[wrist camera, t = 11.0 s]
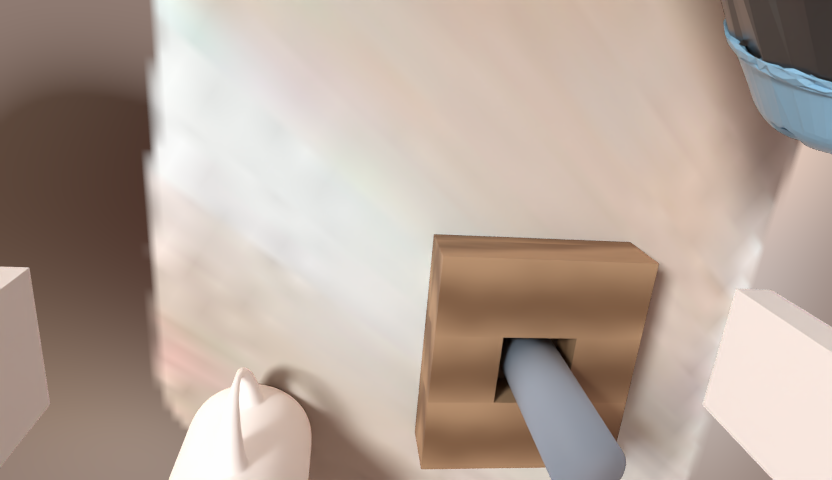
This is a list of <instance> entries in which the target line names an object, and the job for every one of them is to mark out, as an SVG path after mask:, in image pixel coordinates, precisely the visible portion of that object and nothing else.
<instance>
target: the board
mask: <svg viewBox="0 0 832 480" xmlns="http://www.w3.org/2000/svg"><path fill="white" fill-rule="evenodd" d="M658 266H659V263H657V262H656V261H655V260H653V259H652V258H651V257H649V256H648V255H647V254H645V253H644V252H643V251H641V250H640V249H639V248H637V247H636V246H635V245H633V244H632V243H631V242H611V241H586V240H561V239H537V238H512V237H487V236H462V235H437V234H434V240H433V250H432V261H431V271H430V281H429V292H428V302H427V312H426V323H425V333H424V343H423V354H422V364H421V374H420V385H419V395H418V405H417V416H416V426H415V435H416V441H417V447H418V453H419V459H420V465H421V469H469V468H541V467H545V464H544V462H543V460H542V458H541V455H540V453H539V451H538V449H537V446H536V444H535V442H534V440H533V438H532V435H531V433H530V431H529V429H528V426H527V424H526V422H525V420H524V417H523V415H522V413H521V411H520V409H519V406H518V404H517V402H516V400H515V397H514V395H513V393H512V391H511V388H510V386H509V384H508V382H507V380H506V377H505V375H504V373H503V371H502V368H501V366H500V357H501V350H502V343H503V337H504V338H550V339H551V341H552V342H553V344H554V345H555V347H556V348H557V350H558V351H559V353H560V355H561V356H562V358H563V359H564V361H565V362H566V364H567V365H568V367H569V369H570V370H571V372H572V373H573V375H574V376H575V378H576V379H577V381H578V383H579V384H580V386H581V387H582V389H583V390H584V392H585V393H586V395H587V397H588V398H589V400H590V401H591V403H592V404H593V406H594V407H595V409H596V411H597V412H598V414H599V415H600V417H601V418H602V420H603V421H604V423H605V425H606V426H607V428H608V429H609V431H610V432H611V434H612V435H613V437H614V439H615V440H616V442H617V438H618V434H619V430H620V426H621V421H622V417H623V413H624V409H625V405H626V400H627V396H628V392H629V388H630V384H631V379H632V375H633V371H634V367H635V363H636V358H637V354H638V350H639V346H640V342H641V337H642V333H643V329H644V325H645V321H646V316H647V312H648V308H649V304H650V300H651V295H652V291H653V287H654V283H655V279H656V274H657V270H658Z"/></svg>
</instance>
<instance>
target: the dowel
mask: <svg viewBox="0 0 832 480" xmlns="http://www.w3.org/2000/svg"><path fill="white" fill-rule="evenodd" d="M500 366H501V368H502V371H503V373H504V375H505V377H506V380H507V382H508V384H509V386H510V388H511V391H512V393H513V395H514V397H515V400H516V402H517V404H518V406H519V409H520V411H521V413H522V415H523V417H524V420H525V422H526V424H527V426H528V429H529V431H530V433H531V435H532V438H533V440H534V442H535V444H536V446H537V449H538V451H539V453H540V455H541V458H542V460H543V462H544V464H545V467H546V469H547V471H548V473H549V475H550V478H551V480H620V479H621V478H622V476H623V474H624V471H625V466H626V459H625V455H624V453H623V451H622V449H621V448H620V446H619V445H618V443H617V442H616V440H615V439H614V437H613V435H612V434H611V432H610V431H609V429H608V428H607V426H606V425H605V423H604V421H603V420H602V418H601V417H600V415H599V414H598V412H597V411H596V409H595V407H594V406H593V404H592V403H591V401H590V400H589V398H588V397H587V395H586V393H585V392H584V390H583V389H582V387H581V386H580V384H579V383H578V381H577V379H576V378H575V376H574V375H573V373H572V372H571V370H570V369H569V367H568V365H567V364H566V362H565V361H564V359H563V358H562V356H561V355H560V353H559V351H558V350H557V348H556V347H555V345H554V344H553V342H552V341H551V339H550V338H504V337H503V343H502V350H501V357H500Z"/></svg>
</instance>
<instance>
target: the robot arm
mask: <svg viewBox="0 0 832 480" xmlns="http://www.w3.org/2000/svg"><path fill="white" fill-rule="evenodd" d="M721 3H722V7H723V10H724V14H725V20H724V22H723V24H724V32H725V35H726V38H727V42H728V44H729V46H730V47H731V49H732V50H733V51H734V52H735V54H736V55H737V56H738V59H739V62H740V64H741V67H742V70H743V73H744V75H745V78H746V81H747V83H748V86H749V89H750V92H751V96H752V99H753V101H754V103H755V105H756V108H757V110H758V111H759V112H760V114H761V115H762V117H763V118H764V119H765V120H766V121H767V122H768V123H769V124H770V125H771V126H772V127H773V128H774V129H776V130H777V131H779V132H780V133H782V134H784V135H786V136H788V137H790V138H793V139H796V140H800V141H801V142H802V143H803V144H804V145H806V146H808V147H810V148H813V149H816V150H819V151H822V152H826V153H830V154H832V0H721ZM49 405H50V400H49V393H48V388H47V380H46V375H45V367H44V361H43V354H42V348H41V341H40V335H39V328H38V322H37V315H36V309H35V302H34V296H33V290H32V282H31V276H30V269H29V268H24V267H0V467H1V466H2V465H3V464H4V462H5V461H6V460H7V458H8V457H9V456H10V455H11V453H12V452H13V451H14V450H15V448H16V447H17V446H18V445H19V443H20V442H21V441H22V439H23V438H24V437H25V436H26V434H27V433H28V432H29V431H30V429H31V428H32V427H33V425H34V424H35V423H36V422H37V420H38V419H39V418H40V417H41V415H42V414H43V413H44V412H45V410H46V409H47V408H48V407H49ZM703 406H704V407H705V408H706V409H707V410H708V411H709V412H710V413H711V415H712V416H713V417H714V418H715V419H716V420H717V421H718V422H719V423H720V424H721V425H722V426H723V427H724V428H725V429H726V430H727V431H728V433H729V434H730V435H731V436H732V437H733V438H734V439H735V440H736V441H737V442H738V443H739V444H740V445H741V446H742V447H743V448H744V450H745V451H746V452H747V453H748V454H749V455H750V456H751V457H752V458H753V459H754V460H755V461H756V462H757V463H758V464H759V465H760V466H761V467H762V469H764V471H765V472H766V473H767V474H768V475H769V476H770V477H771V478H772V479H773V480H832V327H831V326H829V325H828V324H826V323H824V322H823V321H821V320H819V319H818V318H816V317H815V316H813V315H811V314H810V313H808V312H806V311H805V310H803V309H802V308H800V307H798V306H797V305H795V304H793V303H792V302H790V301H789V300H787V299H785V298H783V297H782V296H780V295H779V294H777V293H776V292H774V291H772V290H766V289H736V291H735V294H734V298H733V301H732V305H731V308H730V312H729V315H728V318H727V322H726V325H725V329H724V332H723V336H722V339H721V343H720V346H719V349H718V353H717V356H716V360H715V363H714V367H713V370H712V374H711V377H710V380H709V384H708V387H707V391H706V394H705V398H704V401H703Z"/></svg>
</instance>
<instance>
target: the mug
mask: <svg viewBox="0 0 832 480" xmlns="http://www.w3.org/2000/svg"><path fill="white" fill-rule="evenodd" d="M311 443H312V435H311V427H310V422H309V419H308V417H307V414H306V413H305V411H304V409H303V408H302V407H301V405H300V404H299V403H298V402H297V401H296V400H295V399H294V398H293V397H291V396H290V395H288V394H287V393H285V392H283V391H282V390H279V389H277V388H274V387H271V386H267V385H262V384H258V382H257V380H256V378H255V376H254V374H253V373H252V371H251V370H249V369H248V368H246V367H243V368H240V369H239V370H238V371H237V373H236V376H235V378H234V381H233V384H232V386H231V387H229V388H227V389H224V390H222V391H220V392H218V393H216V394H215V395H213V396H212V397H210V398H209V399H208V400H207V401H206V402H205V403H204V404H203V405H202V406H201V408H200V409H199V410H198V412H197V413H196V415H195V417H194V418H193V420H192V422H191V425H190V427H189V430H188V432H187V435H186V437H185V440H184V442H183V445H182V447H181V450H180V453H179V455H178V458H177V460H176V463H175V465H174V468H173V470H172V473H171V475H170V478H169V480H308V479H309V467H310V455H311Z"/></svg>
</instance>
